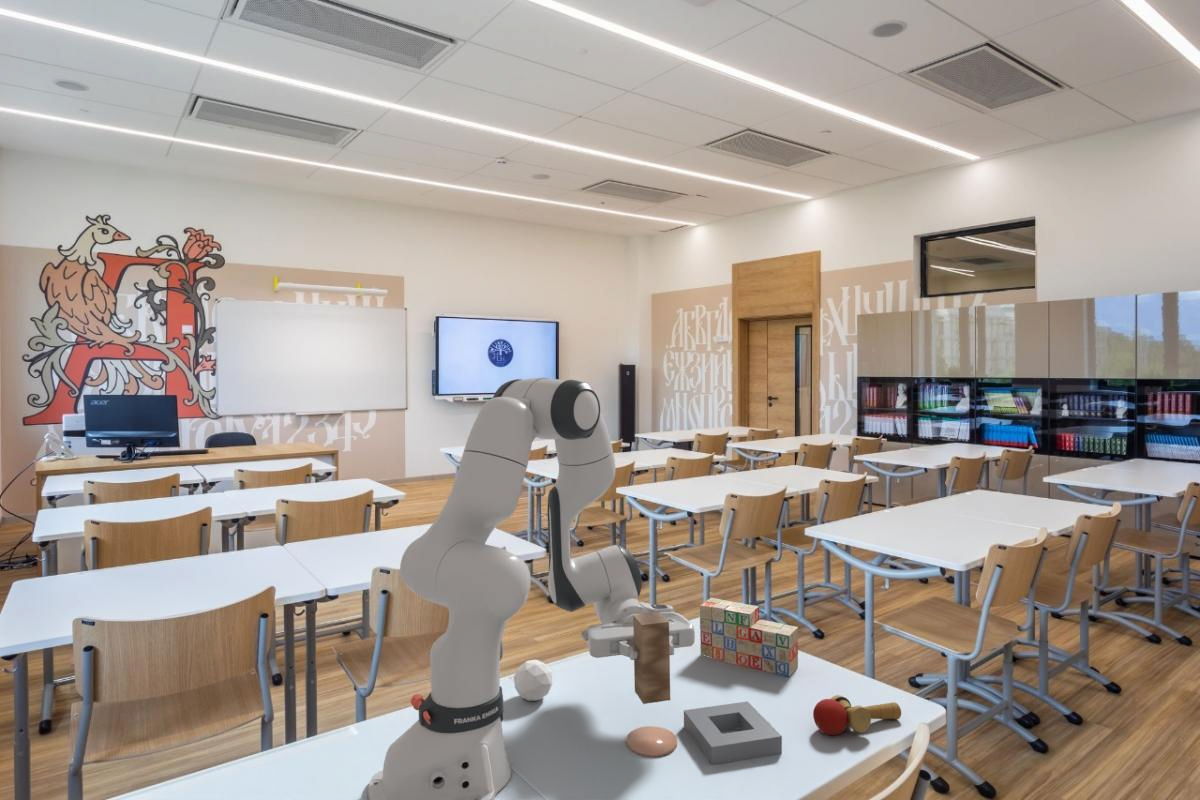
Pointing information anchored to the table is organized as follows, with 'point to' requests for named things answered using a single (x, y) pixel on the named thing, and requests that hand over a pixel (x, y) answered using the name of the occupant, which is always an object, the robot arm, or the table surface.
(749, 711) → the pocket holder
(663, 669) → the walnut block
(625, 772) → the table surface
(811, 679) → the table surface
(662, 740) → the terracotta coaster
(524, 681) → the geometric ball
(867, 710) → the kendama
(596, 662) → the table surface
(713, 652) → the stack of blocks
